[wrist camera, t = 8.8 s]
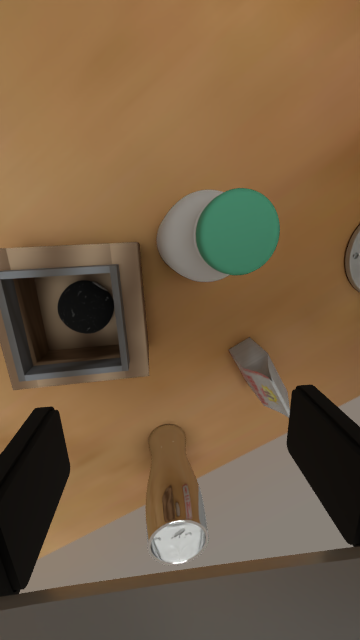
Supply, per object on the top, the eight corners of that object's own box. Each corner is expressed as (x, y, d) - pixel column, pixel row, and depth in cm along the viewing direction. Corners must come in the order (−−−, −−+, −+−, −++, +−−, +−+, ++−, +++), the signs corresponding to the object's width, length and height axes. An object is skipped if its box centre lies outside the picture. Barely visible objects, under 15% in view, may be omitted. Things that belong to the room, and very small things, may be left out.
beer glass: (196, 443, 42) (222, 544, 27) (160, 464, 42) (168, 576, 28) (174, 414, 40) (190, 508, 25) (137, 436, 40) (132, 542, 26)
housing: (139, 243, 32) (136, 241, 22) (148, 345, 36) (149, 385, 26) (22, 248, 30) (-41, 249, 20) (45, 355, 34) (2, 401, 24)
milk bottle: (181, 283, 34) (226, 329, 15) (143, 236, 32) (139, 220, 13) (226, 245, 33) (333, 244, 14) (190, 195, 31) (261, 113, 12)
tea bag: (249, 337, 38) (284, 367, 28) (267, 371, 40) (305, 410, 30) (228, 349, 38) (255, 384, 28) (247, 382, 40) (278, 425, 30)
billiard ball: (54, 310, 31) (40, 321, 25) (80, 269, 31) (71, 271, 25) (98, 333, 33) (94, 349, 27) (122, 295, 33) (124, 303, 27)
